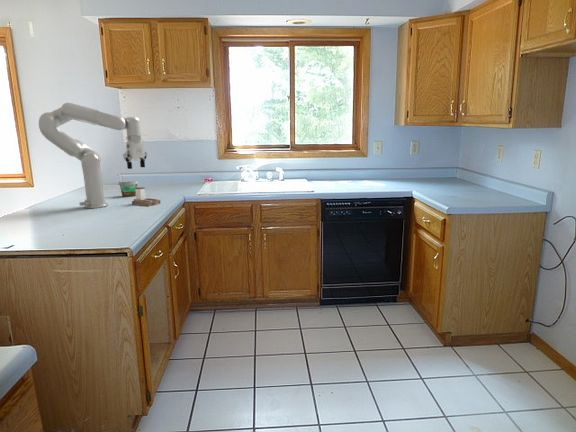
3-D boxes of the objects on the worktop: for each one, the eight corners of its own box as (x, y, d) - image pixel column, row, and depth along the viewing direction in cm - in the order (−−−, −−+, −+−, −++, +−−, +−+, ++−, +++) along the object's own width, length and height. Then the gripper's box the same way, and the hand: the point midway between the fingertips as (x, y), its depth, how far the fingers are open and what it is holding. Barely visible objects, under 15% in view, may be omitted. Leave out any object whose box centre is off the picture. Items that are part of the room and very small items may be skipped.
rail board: (149, 206, 243) (149, 201, 243) (132, 204, 249) (131, 199, 249) (160, 203, 251) (160, 198, 250) (143, 201, 257) (143, 197, 257)
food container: (118, 197, 272) (117, 182, 270) (119, 196, 278) (118, 181, 276) (138, 196, 275) (137, 181, 273) (139, 195, 281) (137, 180, 279)
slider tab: (141, 200, 249) (140, 188, 247) (136, 199, 251) (135, 187, 249) (145, 199, 252) (144, 187, 250) (140, 198, 254) (139, 187, 252)
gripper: (126, 139, 236) (129, 169, 240) (150, 138, 251) (152, 166, 254) (117, 139, 239) (120, 169, 243) (141, 138, 254) (143, 166, 258)
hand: (136, 167), depth 249 cm, fingers open, 9 cm apart
